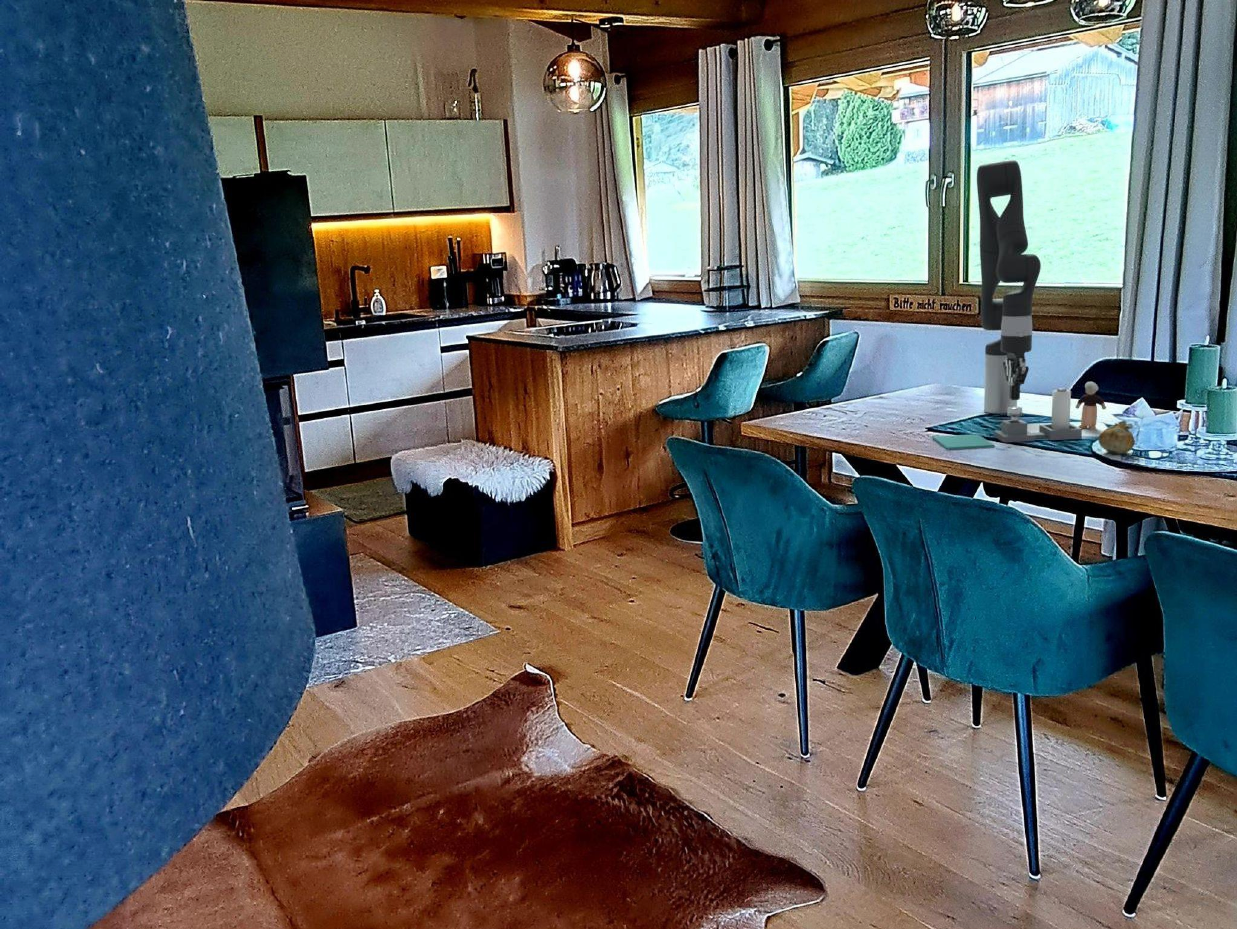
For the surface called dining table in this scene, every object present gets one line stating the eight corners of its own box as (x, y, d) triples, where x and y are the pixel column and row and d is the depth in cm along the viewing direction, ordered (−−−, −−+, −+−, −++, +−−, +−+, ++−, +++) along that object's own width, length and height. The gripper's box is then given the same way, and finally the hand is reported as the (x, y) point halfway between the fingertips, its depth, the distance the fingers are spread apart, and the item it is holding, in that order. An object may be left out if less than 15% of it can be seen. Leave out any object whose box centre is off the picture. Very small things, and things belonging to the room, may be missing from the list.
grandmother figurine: (1073, 429, 289) (1075, 382, 286) (1074, 426, 292) (1076, 380, 289) (1104, 430, 285) (1106, 383, 283) (1105, 427, 289) (1107, 380, 286)
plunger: (1005, 423, 283) (1005, 407, 282) (1018, 423, 282) (1019, 406, 281) (1009, 426, 279) (1010, 409, 278) (1023, 425, 279) (1024, 408, 278)
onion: (1097, 449, 265) (1099, 417, 263) (1133, 450, 262) (1135, 418, 260) (1098, 456, 258) (1099, 423, 256) (1134, 457, 255) (1136, 424, 253)
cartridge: (1048, 435, 283) (1050, 388, 281) (1065, 434, 283) (1067, 387, 281) (1054, 438, 279) (1056, 390, 276) (1071, 437, 279) (1073, 389, 276)
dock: (993, 436, 286) (994, 419, 285) (1069, 432, 285) (1070, 415, 284) (1003, 442, 278) (1004, 425, 277) (1081, 438, 277) (1082, 421, 276)
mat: (932, 438, 287) (932, 436, 287) (977, 436, 287) (977, 434, 287) (947, 449, 273) (947, 447, 273) (994, 447, 273) (994, 444, 273)
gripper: (993, 331, 282) (991, 396, 286) (1010, 336, 269) (1008, 404, 273) (1022, 330, 282) (1020, 395, 286) (1040, 334, 269) (1038, 403, 273)
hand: (1014, 399), depth 279 cm, fingers closed
